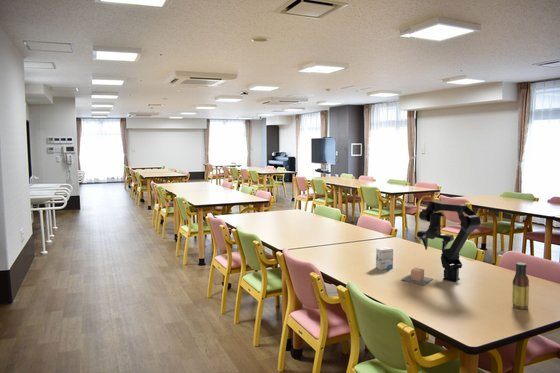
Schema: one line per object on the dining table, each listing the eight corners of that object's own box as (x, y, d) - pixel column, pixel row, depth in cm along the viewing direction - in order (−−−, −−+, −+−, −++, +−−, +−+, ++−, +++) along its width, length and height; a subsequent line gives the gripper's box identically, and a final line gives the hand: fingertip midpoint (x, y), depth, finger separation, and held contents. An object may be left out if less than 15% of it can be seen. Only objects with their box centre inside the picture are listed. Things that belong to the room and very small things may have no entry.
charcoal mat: (433, 279, 217) (433, 278, 217) (423, 285, 209) (423, 284, 209) (411, 274, 225) (411, 273, 225) (401, 280, 217) (401, 279, 217)
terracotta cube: (424, 278, 217) (424, 269, 217) (419, 281, 213) (420, 271, 213) (414, 276, 220) (415, 267, 220) (410, 279, 217) (411, 269, 216)
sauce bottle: (522, 304, 184) (525, 261, 181) (531, 310, 177) (534, 265, 175) (508, 304, 183) (510, 261, 181) (516, 310, 177) (519, 265, 175)
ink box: (388, 266, 241) (389, 246, 240) (393, 268, 236) (393, 248, 235) (375, 267, 239) (375, 247, 238) (379, 270, 234) (380, 250, 233)
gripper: (412, 223, 228) (412, 251, 229) (446, 228, 215) (445, 257, 217) (421, 220, 236) (420, 247, 237) (454, 224, 223) (453, 252, 225)
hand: (434, 251), depth 229 cm, fingers open, 9 cm apart
